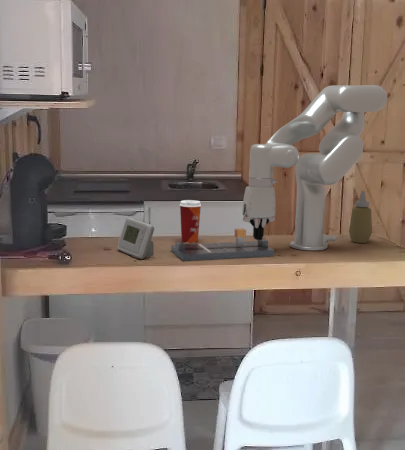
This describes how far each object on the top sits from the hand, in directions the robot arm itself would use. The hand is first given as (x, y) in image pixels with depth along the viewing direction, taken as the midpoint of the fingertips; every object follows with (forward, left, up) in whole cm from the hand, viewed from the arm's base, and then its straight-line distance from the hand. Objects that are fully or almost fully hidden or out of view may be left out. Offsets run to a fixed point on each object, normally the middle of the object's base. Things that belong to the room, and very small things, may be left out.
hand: (258, 239), depth 215 cm
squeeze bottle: (-42, -7, -4) cm, 43 cm away
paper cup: (+17, -20, -4) cm, 27 cm away
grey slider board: (+12, 0, -4) cm, 13 cm away
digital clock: (+39, -5, -5) cm, 40 cm away
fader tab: (+6, 0, -2) cm, 7 cm away
